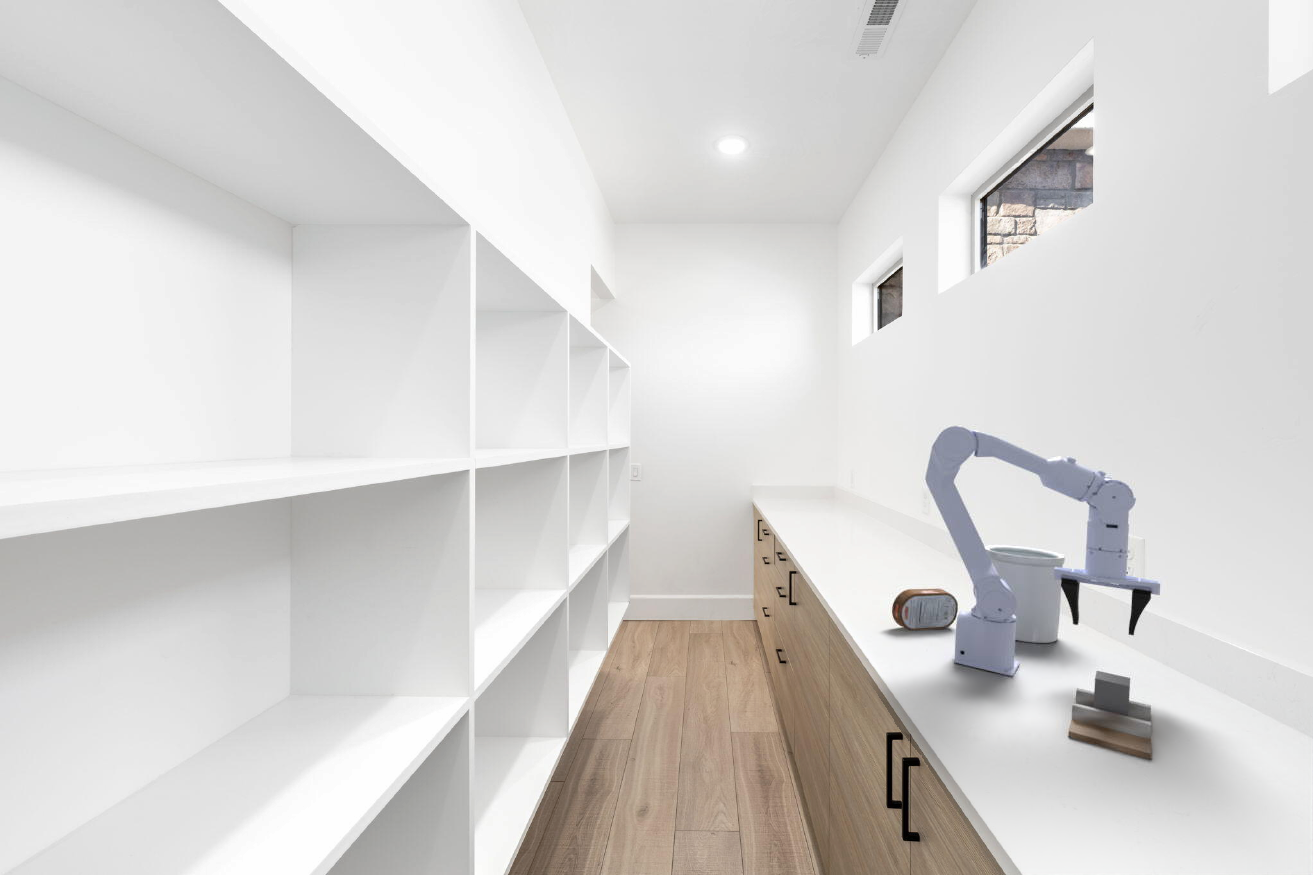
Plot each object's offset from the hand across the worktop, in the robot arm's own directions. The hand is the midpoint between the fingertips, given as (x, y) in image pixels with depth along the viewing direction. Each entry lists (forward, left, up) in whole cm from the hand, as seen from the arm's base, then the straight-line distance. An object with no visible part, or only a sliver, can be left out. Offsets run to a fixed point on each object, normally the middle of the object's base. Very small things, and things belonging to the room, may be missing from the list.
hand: (1102, 628), depth 106 cm
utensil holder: (-15, +22, -10) cm, 28 cm away
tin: (-31, +10, -10) cm, 34 cm away
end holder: (+2, -18, -9) cm, 20 cm away
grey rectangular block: (+2, -18, -9) cm, 20 cm away
